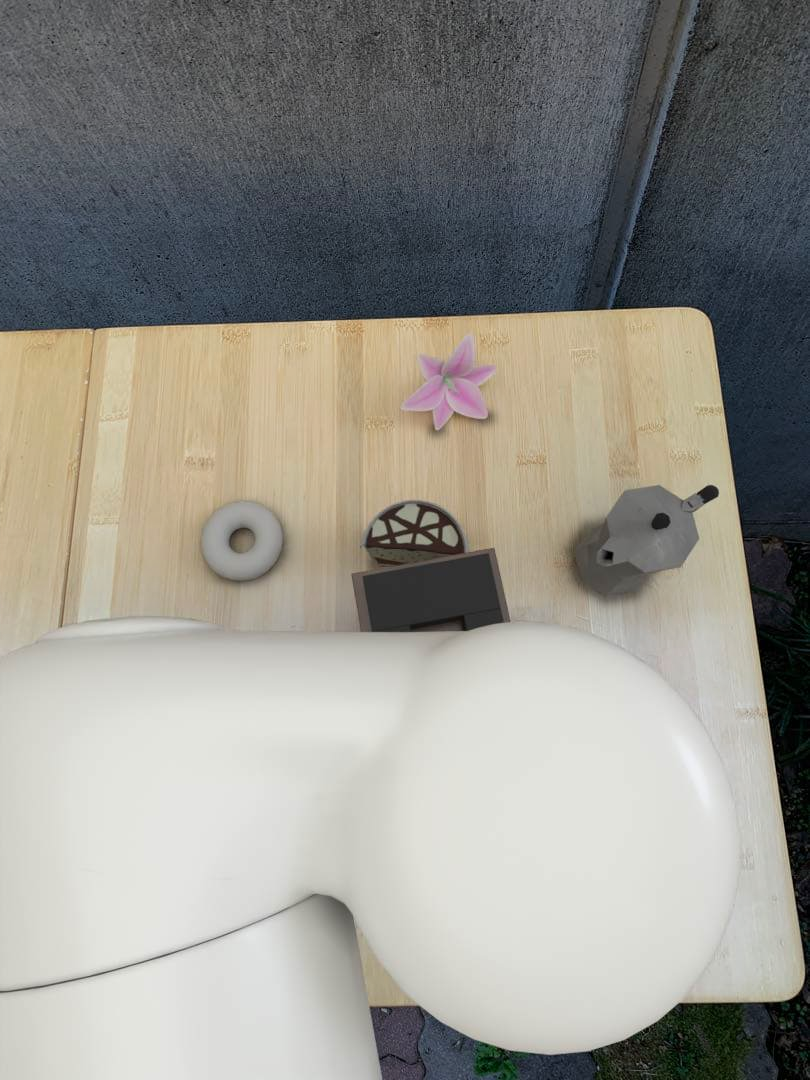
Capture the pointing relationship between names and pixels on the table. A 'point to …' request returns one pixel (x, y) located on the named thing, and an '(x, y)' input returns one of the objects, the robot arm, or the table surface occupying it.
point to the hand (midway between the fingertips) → (449, 747)
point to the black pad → (434, 595)
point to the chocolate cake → (413, 534)
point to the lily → (451, 385)
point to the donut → (252, 560)
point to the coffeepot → (640, 538)
